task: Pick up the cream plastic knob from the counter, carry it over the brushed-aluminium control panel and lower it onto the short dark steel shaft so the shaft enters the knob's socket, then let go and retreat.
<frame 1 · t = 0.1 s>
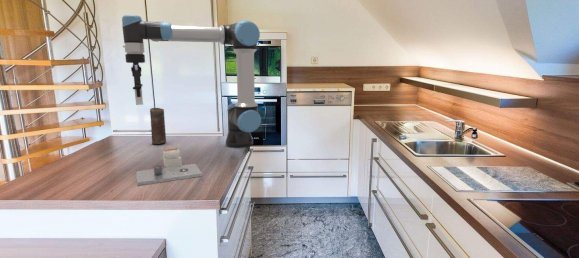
hand: (139, 102, 145), 28 cm above the counter, fingers open, 13 cm apart
knob: (172, 165, 148), on the counter
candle: (159, 143, 185), on the counter
panel: (168, 175, 135), on the counter
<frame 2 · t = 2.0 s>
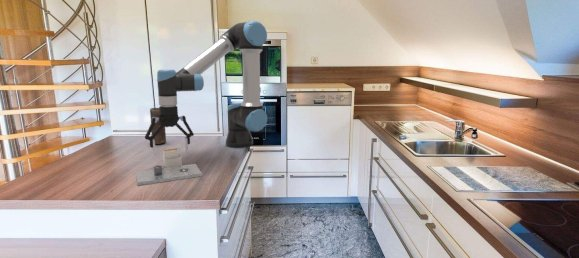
hand: (170, 152, 146), 6 cm above the counter, fingers open, 13 cm apart
nothing on the counter moved.
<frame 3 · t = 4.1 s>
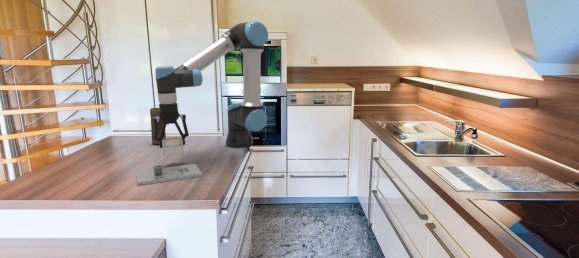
hand: (173, 153, 147), 5 cm above the counter, fingers closed on knob, 7 cm apart
knob: (173, 153, 147), point 5 cm above the counter, touching gripper
everything else where it was.
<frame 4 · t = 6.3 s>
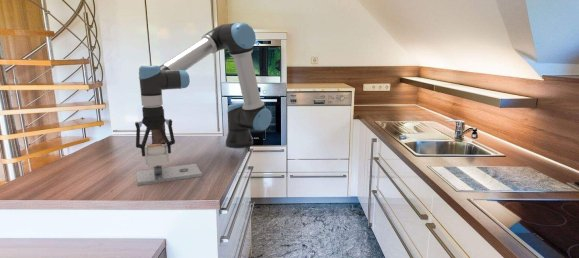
hand: (157, 162, 132), 6 cm above the counter, fingers closed on knob, 7 cm apart
knob: (157, 163, 132), point 6 cm above the counter, touching gripper
everything else where it was.
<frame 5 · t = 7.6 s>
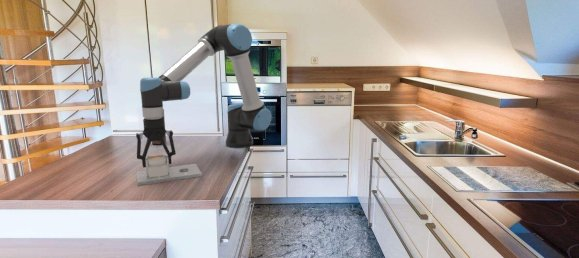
hand: (158, 173, 133), 1 cm above the counter, fingers closed on knob, 7 cm apart
knob: (158, 173, 133), point 1 cm above the counter, touching gripper, panel
everything else where it was.
when the fingers open (1 cm above the counter, at t = 8.7 s): knob stays where it is, resting on panel.
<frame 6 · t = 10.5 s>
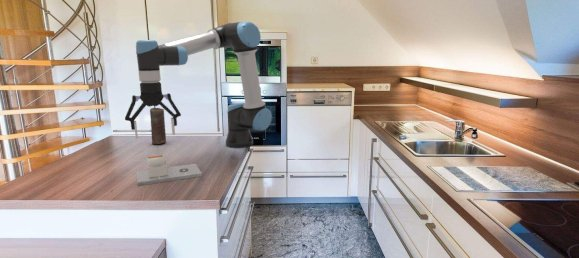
hand: (155, 135, 130), 17 cm above the counter, fingers open, 13 cm apart
knob: (158, 173, 133), point 1 cm above the counter, touching panel
everything else where it was.
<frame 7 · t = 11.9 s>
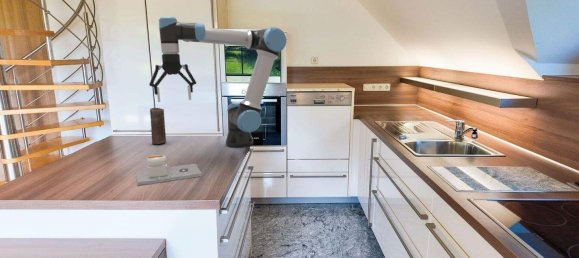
hand: (174, 100, 151), 28 cm above the counter, fingers open, 13 cm apart
nothing on the counter moved.
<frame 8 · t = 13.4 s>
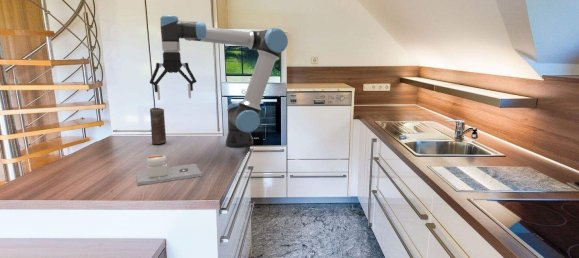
hand: (174, 98, 152), 29 cm above the counter, fingers open, 13 cm apart
nothing on the counter moved.
at the end: knob 0.1 cm from the target spot on the panel, point 1.2 cm above the panel's base; knob tilted 1°; the gripper is holding nothing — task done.
